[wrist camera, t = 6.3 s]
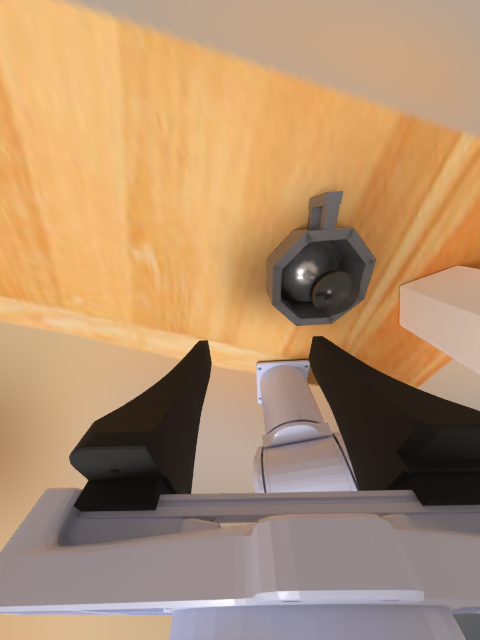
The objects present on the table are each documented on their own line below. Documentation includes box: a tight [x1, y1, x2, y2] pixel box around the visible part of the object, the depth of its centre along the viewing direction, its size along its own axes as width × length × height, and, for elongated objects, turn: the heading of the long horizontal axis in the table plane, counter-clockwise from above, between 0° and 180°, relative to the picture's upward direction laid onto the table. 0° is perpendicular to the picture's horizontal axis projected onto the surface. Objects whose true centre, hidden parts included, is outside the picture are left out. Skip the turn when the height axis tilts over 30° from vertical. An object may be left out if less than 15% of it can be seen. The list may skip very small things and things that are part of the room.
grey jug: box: [267, 191, 376, 326], centre depth 17 cm, size 12×9×4 cm
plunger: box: [281, 245, 360, 315], centre depth 16 cm, size 6×6×6 cm
